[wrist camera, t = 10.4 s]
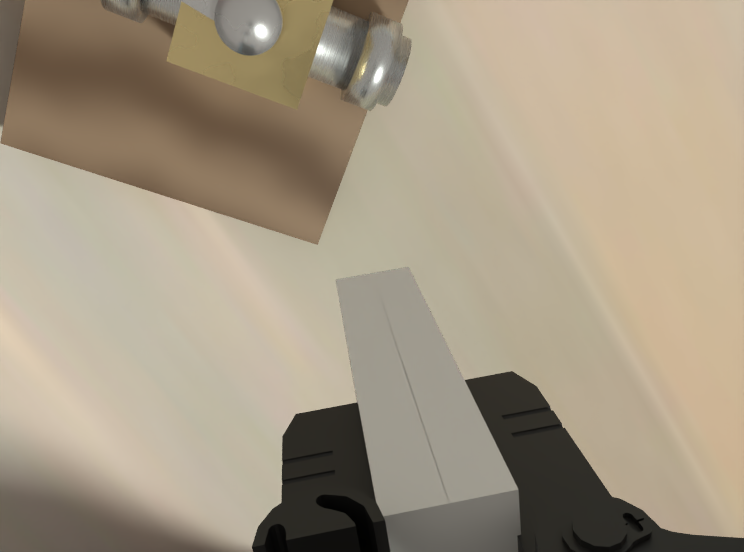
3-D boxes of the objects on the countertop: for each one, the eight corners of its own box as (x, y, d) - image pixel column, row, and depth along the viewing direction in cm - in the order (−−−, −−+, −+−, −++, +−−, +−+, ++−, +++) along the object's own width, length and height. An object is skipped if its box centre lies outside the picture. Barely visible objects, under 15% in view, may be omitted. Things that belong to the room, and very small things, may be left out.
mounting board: (316, 233, 40) (317, 244, 38) (15, 136, 36) (0, 143, 34) (456, -146, 33) (466, -155, 31) (99, -327, 28) (85, -350, 26)
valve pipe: (371, 120, 36) (388, 146, 29) (20, -13, 31) (-53, -18, 25) (411, 14, 34) (439, 16, 27) (42, -144, 29) (-31, -187, 23)
